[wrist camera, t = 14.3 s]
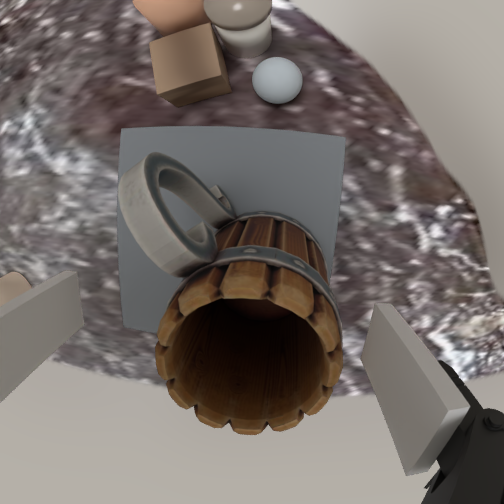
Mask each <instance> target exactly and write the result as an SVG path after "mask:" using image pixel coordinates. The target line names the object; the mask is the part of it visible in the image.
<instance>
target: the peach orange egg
mask: <svg viewBox="0 0 504 504" xmlns="http://www.w3.org/2000/svg"><path fill="white" fill-rule="evenodd" d="M133 3H134V5H135V7H136V8H137V9H138V10H139V11H140V12H141V13H142V14H143V15H144V16H145V17H146V18H147V20H148V21H149V22H150V23H151V24H152V25H153V26H154V27H155V28H156V29H157V30H158V31H159V32H160V33H161V35H162V36H163V37H166V36H168V35H171V34H174V33H177V32H180V31H183V30H186V29H190V28H193V27H196V26H200V25H203V24H207V23H210V24H212V22H211V21H210V20H209V18H208V16H207V14H206V12H205V10H204V0H133Z"/></svg>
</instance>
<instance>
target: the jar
mask: <svg viewBox="0 0 504 504" xmlns="http://www.w3.org/2000/svg"><path fill="white" fill-rule="evenodd" d="M204 10H205V12H206V14H207V16H208V18H209V20H210V21H211V22H212V23H213V24H214V25H215V27H216V29H217V31H218V33H219V35H220V37H221V40H222V42H223V44H224V46H225V48H226V50H227V51H228V52H229V53H230V54H232V55H234V56H236V57H240V58H252V57H256V56H259V55H261V54H262V53H264V52H265V51H266V50H267V49H268V48H269V46H270V44H271V41H272V34H271V20H270V13H271V10H272V0H204Z"/></svg>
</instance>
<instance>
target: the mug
mask: <svg viewBox="0 0 504 504" xmlns="http://www.w3.org/2000/svg"><path fill="white" fill-rule="evenodd" d="M159 187H161V188H164V189H167V190H169V191H170V192H172V193H174V194H175V195H176V196H178V197H179V198H180V199H182V200H183V201H184V202H185V203H186V204H188V205H189V206H190V207H191V208H192V209H193V210H194V211H195V212H196V213H197V214H198V215H199V216H200V217H201V218H202V219H203V220H205V221H206V222H207V223H208V224H209V225H210V226H212V227H213V228H215V229H217V230H216V231H215V233H214V232H213V229H212V228H210V227H209V226H208V225H207V224H206V223H204V222H203V221H202V222H200V223H199V224H197V225H196V226H194V227H193V228H191V229H189V230H188V231H186V232H184V230H183V229H182V228H181V227H180V226H179V224H178V223H177V221H176V220H175V219H174V217H173V216H172V214H171V212H170V211H169V209H168V207H167V206H166V204H165V202H164V200H163V197H162V195H161V192H160V189H159ZM118 199H119V204H120V209H121V212H122V214H123V217H124V219H125V222H126V224H127V226H128V228H129V230H130V231H131V233H132V235H133V236H134V238H135V240H136V242H137V243H138V244H139V246H140V247H141V248H142V249H143V251H144V252H145V253H146V255H147V256H148V257H149V258H150V259H151V260H152V261H153V262H154V263H155V264H156V265H157V266H158V267H159V268H160V269H162V270H163V271H165V272H166V273H168V274H169V275H172V276H174V277H177V278H183V280H182V281H181V283H180V284H179V286H178V287H177V289H176V290H175V292H174V293H173V295H172V296H171V298H170V299H169V301H168V303H167V307H166V310H165V314H164V315H163V317H162V319H161V320H160V324H159V327H158V331H157V337H158V339H159V341H158V343H157V344H156V346H155V357H156V366H157V370H158V374H159V375H160V376H161V377H162V378H163V379H164V380H168V381H167V383H166V385H167V388H168V392H169V395H170V396H171V398H172V399H173V400H174V401H175V402H176V403H177V404H178V405H179V406H180V407H182V408H185V409H189V408H190V407H193V406H194V410H195V414H196V417H197V418H198V419H199V421H200V422H202V423H204V424H206V425H209V426H211V427H213V428H222V427H224V426H225V425H226V424H227V423H230V425H231V427H232V429H233V431H235V432H236V433H238V434H244V435H257V434H259V433H261V432H262V431H263V430H264V429H265V428H266V426H267V425H269V426H270V427H271V428H272V430H274V431H284V430H288V429H290V428H293V427H295V426H297V424H298V423H299V422H300V421H301V420H302V419H303V417H304V413H305V414H307V415H309V416H310V415H313V414H316V413H317V412H319V410H321V409H322V408H323V406H324V405H325V404H326V403H327V401H328V399H329V398H330V396H331V394H332V392H333V388H332V387H333V386H334V385H335V384H336V383H337V382H338V380H339V377H340V374H341V371H342V368H343V352H342V347H343V343H342V323H341V319H340V314H339V310H338V307H337V304H336V301H335V298H334V296H333V293H332V290H331V289H330V287H329V283H328V271H327V263H326V259H325V257H324V254H323V251H322V249H321V246H320V243H319V242H318V241H317V239H316V238H315V237H314V235H313V234H312V233H311V231H310V230H309V229H308V228H307V227H305V226H304V225H303V224H301V223H300V222H299V221H298V220H296V219H294V218H292V217H289V216H287V215H285V214H282V213H280V212H272V211H264V210H261V211H254V212H246V213H243V214H241V215H238V216H237V215H236V212H235V210H234V208H233V206H232V204H231V202H230V200H229V199H228V197H227V195H226V194H225V193H224V191H223V190H222V189H221V188H220V187H219V186H218V185H215V186H214V187H212V188H210V189H209V188H208V187H207V186H206V185H205V184H204V183H203V182H202V181H201V180H200V179H199V178H198V177H197V176H196V175H195V174H194V173H193V172H192V171H191V170H190V169H188V168H187V167H186V166H185V165H183V164H182V163H181V162H179V161H177V160H176V159H174V158H172V157H170V156H167V155H165V154H162V153H159V152H153V153H150V154H149V155H147V156H146V157H145V158H143V159H142V160H141V161H139V162H138V163H137V164H136V165H134V166H133V167H132V168H131V169H129V170H128V171H127V172H126V173H124V174H123V176H122V177H121V179H120V182H119V185H118Z"/></svg>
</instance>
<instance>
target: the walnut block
mask: <svg viewBox="0 0 504 504" xmlns="http://www.w3.org/2000/svg"><path fill="white" fill-rule="evenodd" d="M149 44H150V52H151V59H152V65H153V72H154V78H155V85H156V91H157V95H159V96H160V97H162V98H164V99H165V100H167V101H168V102H170V103H172V104H173V105H175V106H176V107H181V106H184V105H188V104H191V103H194V102H198V101H201V100H205V99H209V98H212V97H216V96H220V95H224V94H228V93H232V91H231V86H230V82H229V78H228V73H227V69H226V65H225V60H224V56H223V52H222V47H221V45H220V43H219V41H218V39H217V37H216V34H215V32H214V30H213V28H212V26H211V24H210V23H207V24H203V25H200V26H196V27H193V28H190V29H186V30H183V31H180V32H177V33H174V34H171V35H168V36H166V37H163V38H160V39H157V40H155V41H152V42H150V43H149Z"/></svg>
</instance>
